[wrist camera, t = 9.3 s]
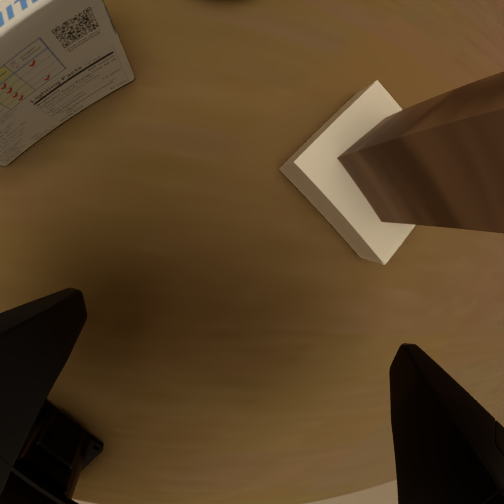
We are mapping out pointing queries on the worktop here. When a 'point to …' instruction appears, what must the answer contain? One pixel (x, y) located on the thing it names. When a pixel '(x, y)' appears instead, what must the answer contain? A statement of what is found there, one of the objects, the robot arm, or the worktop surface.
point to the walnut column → (437, 160)
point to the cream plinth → (347, 176)
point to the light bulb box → (53, 66)
